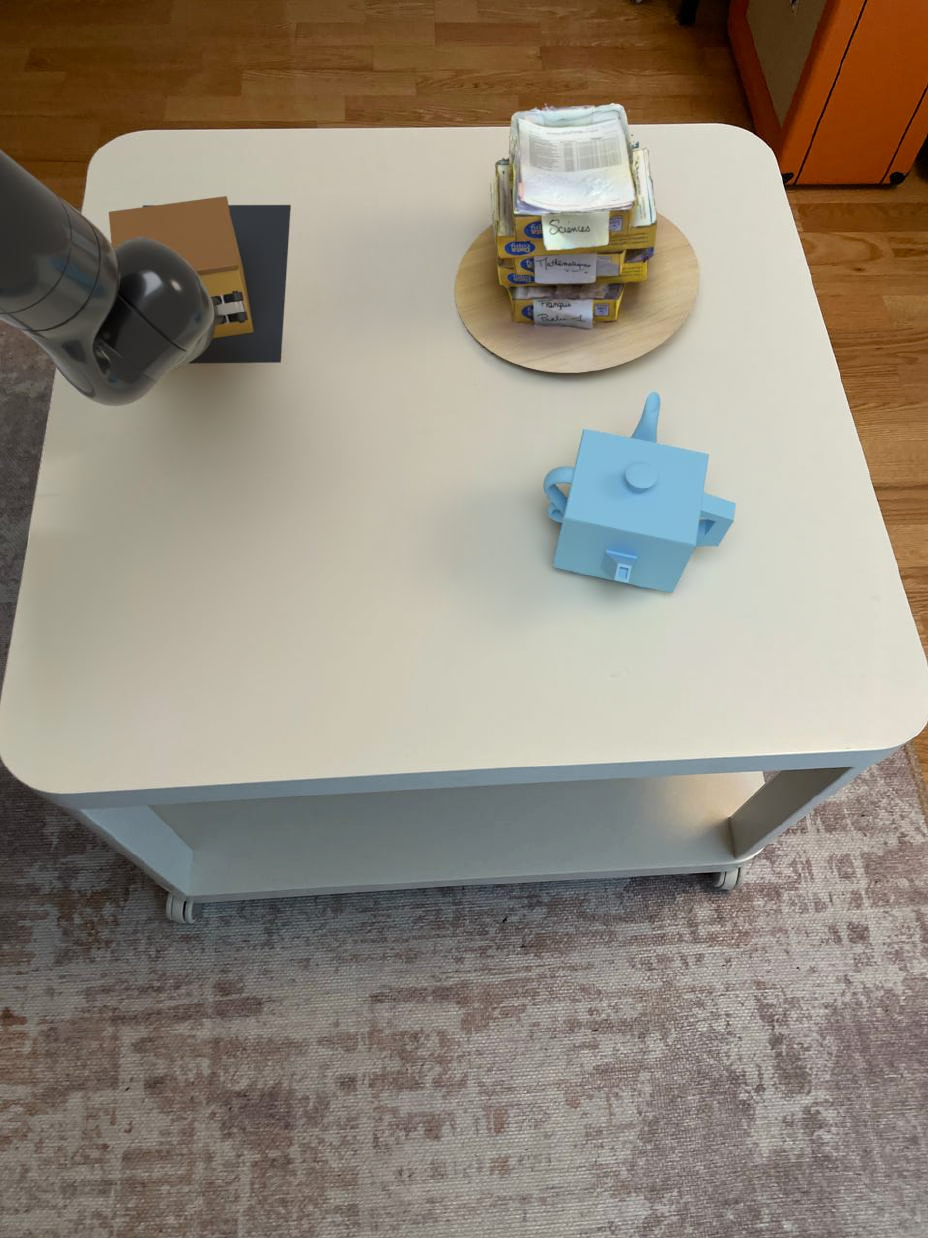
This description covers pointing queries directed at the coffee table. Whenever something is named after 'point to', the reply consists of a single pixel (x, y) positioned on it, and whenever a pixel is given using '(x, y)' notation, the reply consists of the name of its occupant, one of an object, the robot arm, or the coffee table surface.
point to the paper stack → (575, 248)
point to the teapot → (634, 507)
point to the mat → (258, 285)
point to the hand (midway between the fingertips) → (185, 315)
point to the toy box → (193, 244)
